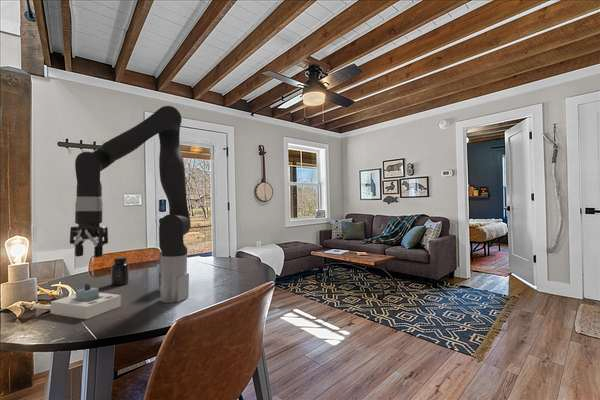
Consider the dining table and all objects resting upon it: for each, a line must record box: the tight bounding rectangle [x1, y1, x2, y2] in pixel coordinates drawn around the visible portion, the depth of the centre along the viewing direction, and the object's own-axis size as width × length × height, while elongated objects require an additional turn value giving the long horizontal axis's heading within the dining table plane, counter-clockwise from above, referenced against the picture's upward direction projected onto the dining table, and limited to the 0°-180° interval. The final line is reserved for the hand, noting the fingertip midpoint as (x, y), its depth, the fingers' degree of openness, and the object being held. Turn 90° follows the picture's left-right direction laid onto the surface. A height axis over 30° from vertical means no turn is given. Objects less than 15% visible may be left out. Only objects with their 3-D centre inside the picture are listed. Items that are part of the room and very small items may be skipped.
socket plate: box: [50, 292, 122, 320], centre depth 95 cm, size 16×12×4 cm
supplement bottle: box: [110, 256, 130, 287], centre depth 127 cm, size 7×7×12 cm
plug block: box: [75, 282, 100, 302], centre depth 95 cm, size 4×4×9 cm
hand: (88, 256), depth 95 cm, fingers open, 8 cm apart
